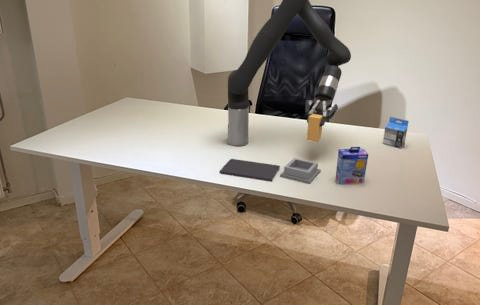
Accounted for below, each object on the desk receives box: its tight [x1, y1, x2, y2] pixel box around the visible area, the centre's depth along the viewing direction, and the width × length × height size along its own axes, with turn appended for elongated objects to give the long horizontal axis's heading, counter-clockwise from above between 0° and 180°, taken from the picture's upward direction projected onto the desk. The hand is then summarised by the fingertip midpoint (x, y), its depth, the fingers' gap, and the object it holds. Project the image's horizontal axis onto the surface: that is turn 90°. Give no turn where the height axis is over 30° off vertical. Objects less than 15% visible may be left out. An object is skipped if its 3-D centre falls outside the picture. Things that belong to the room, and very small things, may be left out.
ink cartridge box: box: [335, 146, 369, 185], centre depth 146 cm, size 10×6×14 cm, turn 95°
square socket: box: [279, 157, 322, 185], centre depth 153 cm, size 12×12×4 cm
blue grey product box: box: [382, 116, 409, 149], centre depth 179 cm, size 9×4×12 cm, turn 47°
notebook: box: [219, 158, 281, 183], centre depth 156 cm, size 13×2×21 cm
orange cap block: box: [306, 113, 323, 143], centre depth 161 cm, size 4×4×10 cm
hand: (314, 124), depth 160 cm, fingers closed on orange cap block, 4 cm apart
